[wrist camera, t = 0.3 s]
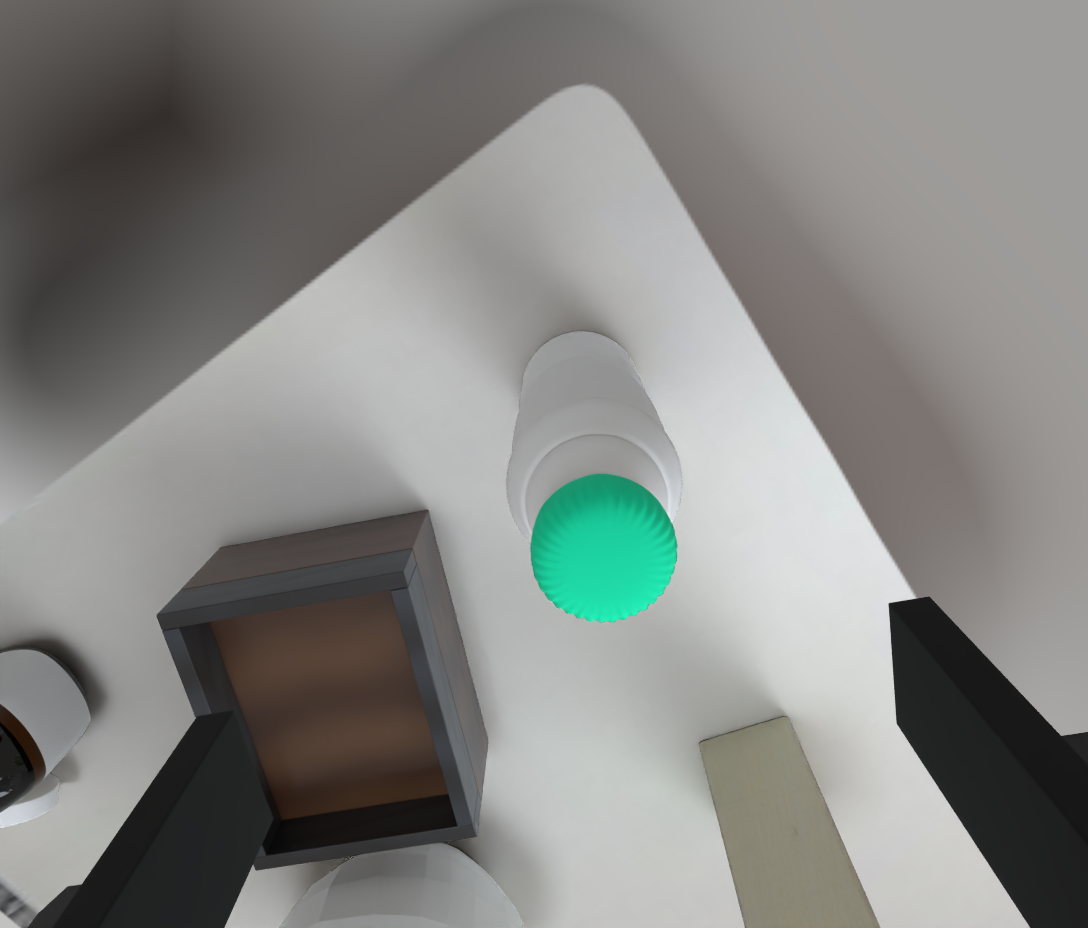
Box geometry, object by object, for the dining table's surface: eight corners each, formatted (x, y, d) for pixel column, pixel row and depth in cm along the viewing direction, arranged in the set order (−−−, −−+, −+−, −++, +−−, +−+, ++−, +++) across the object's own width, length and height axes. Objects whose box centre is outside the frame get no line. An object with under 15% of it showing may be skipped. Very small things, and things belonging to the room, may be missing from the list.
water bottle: (597, 463, 50) (636, 698, 27) (500, 405, 49) (451, 597, 26) (660, 368, 48) (764, 531, 25) (561, 306, 47) (569, 415, 24)
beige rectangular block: (685, 742, 57) (756, 1036, 37) (786, 711, 56) (915, 995, 36) (719, 828, 59) (803, 1148, 39) (816, 799, 58) (953, 1112, 38)
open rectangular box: (220, 547, 52) (155, 615, 44) (428, 509, 51) (403, 571, 43) (299, 772, 58) (255, 871, 49) (488, 741, 57) (477, 837, 48)
